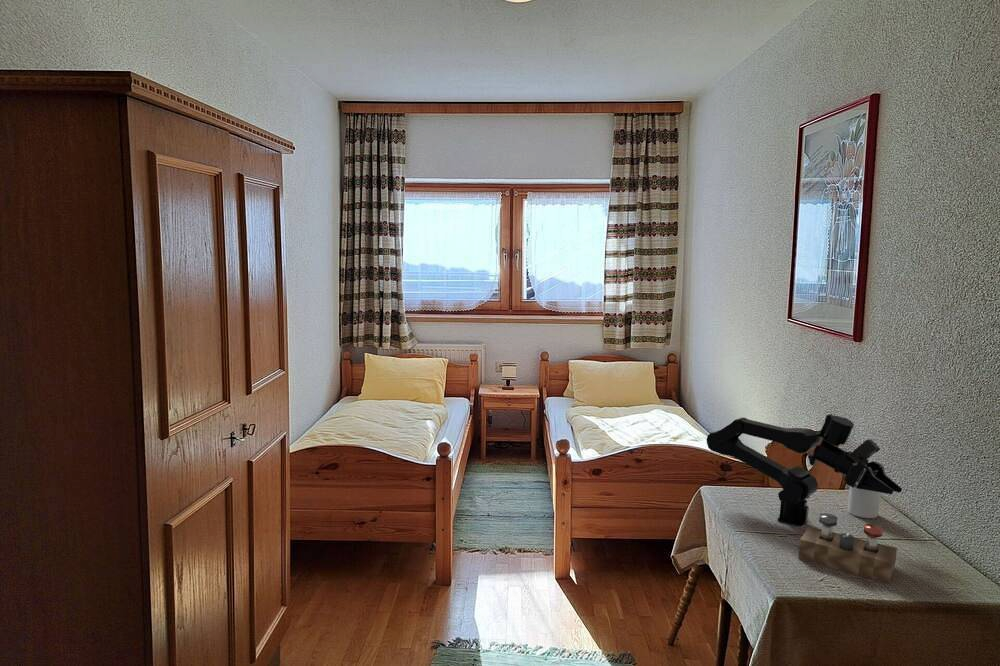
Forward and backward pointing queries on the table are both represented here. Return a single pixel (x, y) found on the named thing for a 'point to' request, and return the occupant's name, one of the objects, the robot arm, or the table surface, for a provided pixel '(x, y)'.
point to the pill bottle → (863, 502)
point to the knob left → (827, 525)
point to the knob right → (872, 536)
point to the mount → (848, 555)
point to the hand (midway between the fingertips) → (897, 491)
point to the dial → (846, 541)
